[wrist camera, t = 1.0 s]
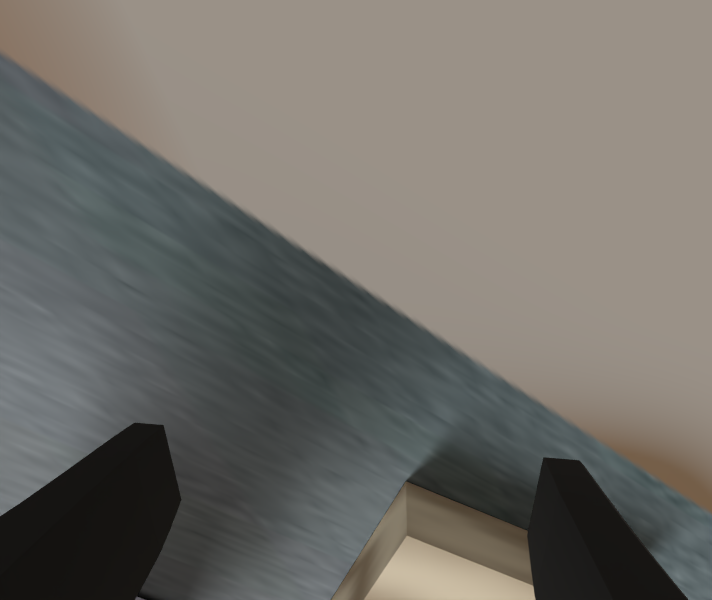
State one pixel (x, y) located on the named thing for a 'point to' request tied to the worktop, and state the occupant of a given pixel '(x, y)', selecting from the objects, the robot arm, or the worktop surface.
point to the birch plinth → (440, 554)
